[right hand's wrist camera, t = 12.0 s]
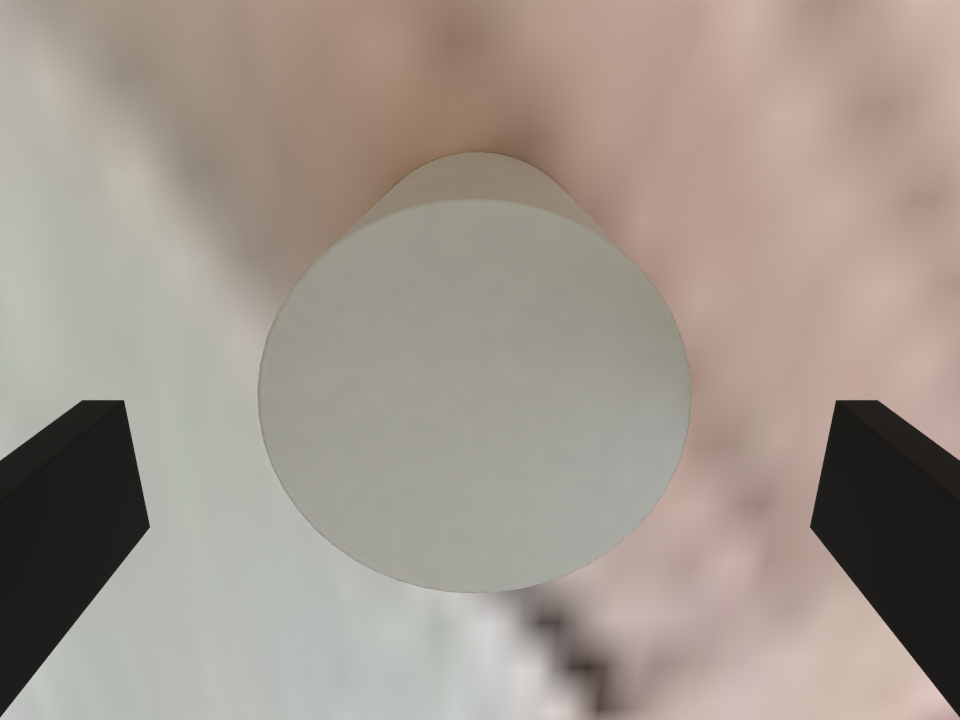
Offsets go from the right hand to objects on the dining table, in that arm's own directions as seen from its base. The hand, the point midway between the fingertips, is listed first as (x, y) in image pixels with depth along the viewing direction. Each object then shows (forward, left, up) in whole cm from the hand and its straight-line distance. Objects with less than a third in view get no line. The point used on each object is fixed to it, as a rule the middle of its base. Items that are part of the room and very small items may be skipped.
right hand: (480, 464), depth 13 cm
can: (0, 0, -14) cm, 14 cm away
